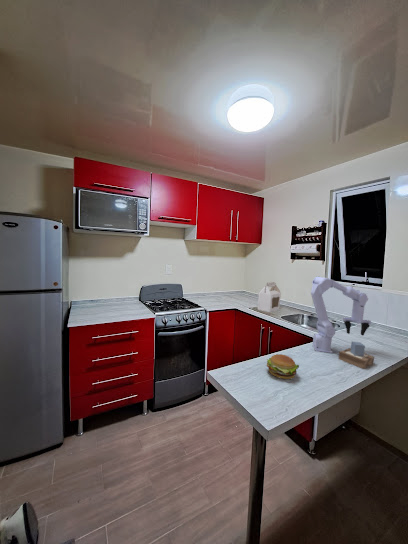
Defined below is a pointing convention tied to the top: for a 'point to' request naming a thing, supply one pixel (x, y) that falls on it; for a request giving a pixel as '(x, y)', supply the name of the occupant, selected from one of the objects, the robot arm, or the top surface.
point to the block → (357, 349)
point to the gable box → (269, 298)
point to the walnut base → (356, 359)
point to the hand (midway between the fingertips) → (355, 334)
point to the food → (282, 366)
